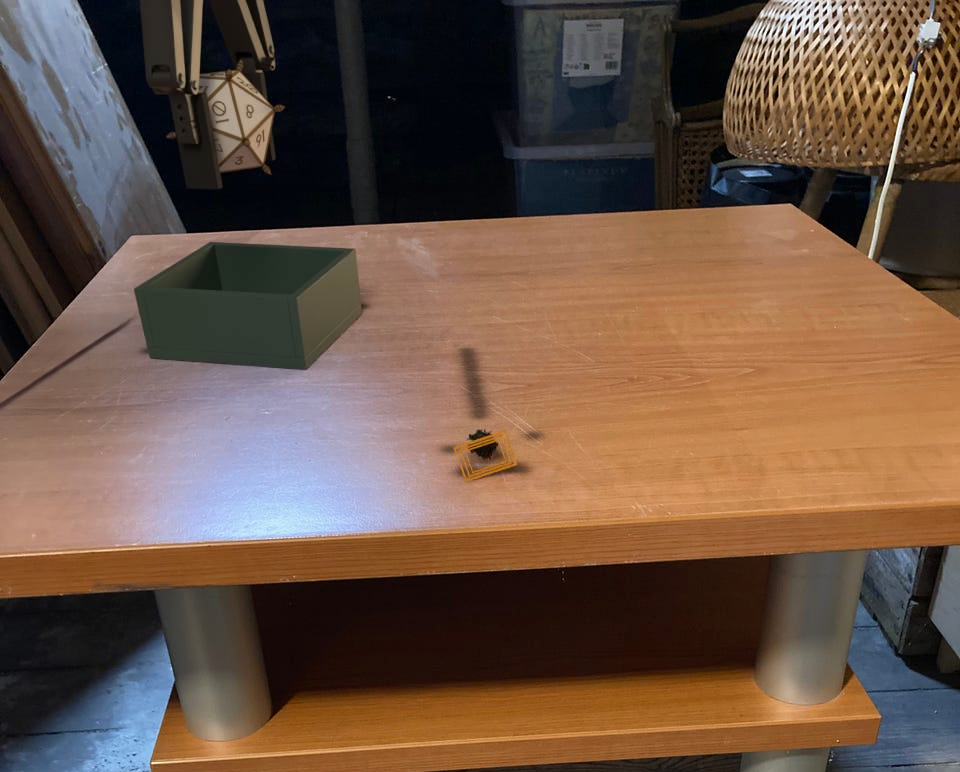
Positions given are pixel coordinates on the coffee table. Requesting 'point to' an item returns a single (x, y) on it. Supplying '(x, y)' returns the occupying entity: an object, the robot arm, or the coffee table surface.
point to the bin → (250, 304)
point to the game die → (237, 119)
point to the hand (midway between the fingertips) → (233, 172)
